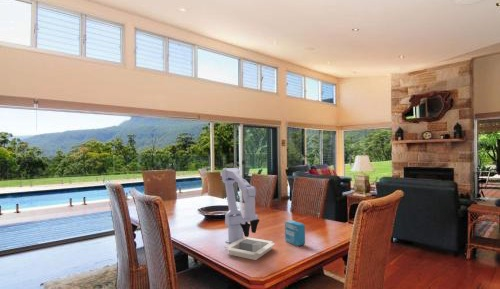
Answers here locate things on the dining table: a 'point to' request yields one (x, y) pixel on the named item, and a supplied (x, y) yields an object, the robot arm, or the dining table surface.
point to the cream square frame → (235, 250)
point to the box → (250, 246)
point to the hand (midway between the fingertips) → (250, 234)
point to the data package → (295, 233)
